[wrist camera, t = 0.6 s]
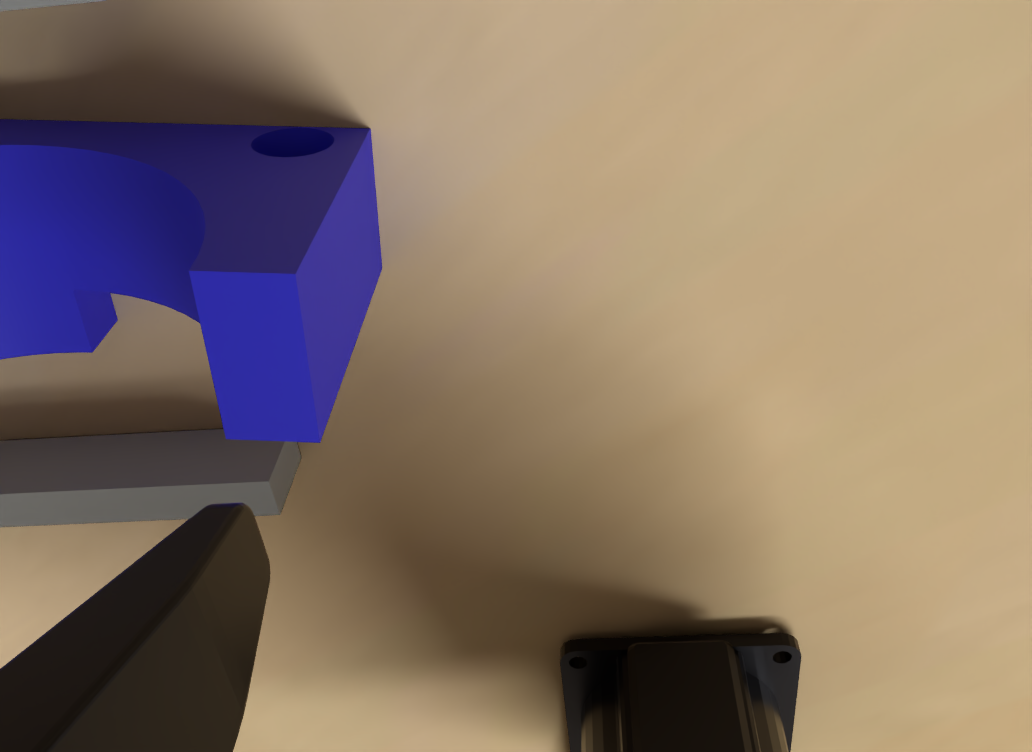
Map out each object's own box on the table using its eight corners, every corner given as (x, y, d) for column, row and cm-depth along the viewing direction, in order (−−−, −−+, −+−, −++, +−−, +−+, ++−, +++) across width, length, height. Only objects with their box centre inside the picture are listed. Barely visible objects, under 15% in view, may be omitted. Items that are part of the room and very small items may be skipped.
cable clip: (-142, 307, 21) (-365, 484, 16) (-233, 110, 18) (-536, 248, 13) (389, 324, 20) (330, 512, 15) (372, 125, 18) (295, 274, 13)
